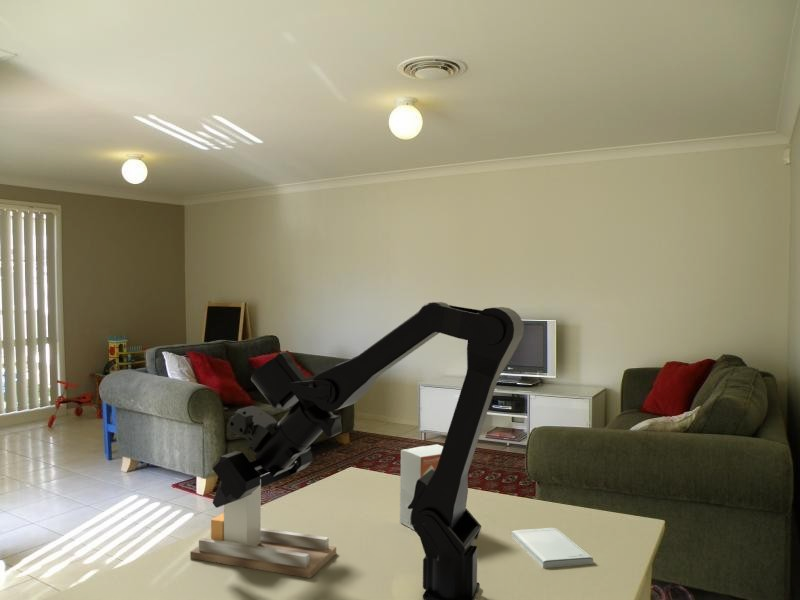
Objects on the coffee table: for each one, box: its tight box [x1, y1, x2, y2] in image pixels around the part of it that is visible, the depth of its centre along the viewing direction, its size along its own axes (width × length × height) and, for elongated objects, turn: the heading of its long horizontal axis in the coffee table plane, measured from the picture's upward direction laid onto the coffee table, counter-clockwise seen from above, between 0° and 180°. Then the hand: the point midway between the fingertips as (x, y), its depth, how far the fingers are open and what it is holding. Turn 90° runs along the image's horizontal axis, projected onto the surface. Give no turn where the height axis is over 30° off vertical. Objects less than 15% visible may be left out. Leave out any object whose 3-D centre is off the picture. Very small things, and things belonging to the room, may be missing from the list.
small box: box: [399, 443, 444, 531], centre depth 110 cm, size 8×6×13 cm
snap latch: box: [210, 512, 224, 541], centre depth 98 cm, size 2×4×4 cm, turn 162°
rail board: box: [189, 527, 337, 579], centre depth 96 cm, size 20×9×3 cm, turn 72°
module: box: [223, 479, 262, 546], centre depth 97 cm, size 4×4×10 cm
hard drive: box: [510, 527, 594, 569], centre depth 100 cm, size 2×8×12 cm
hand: (234, 495), depth 98 cm, fingers open, 9 cm apart
